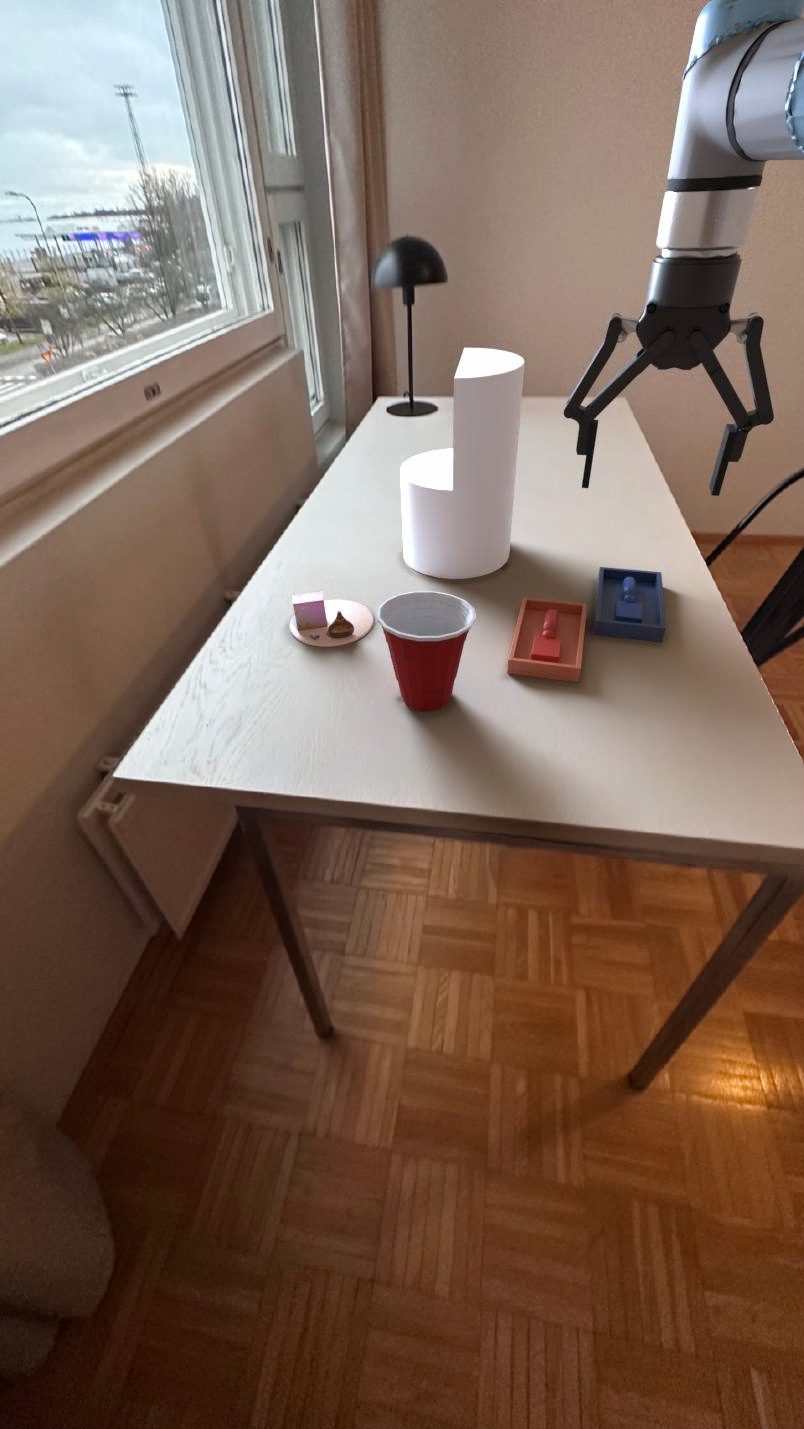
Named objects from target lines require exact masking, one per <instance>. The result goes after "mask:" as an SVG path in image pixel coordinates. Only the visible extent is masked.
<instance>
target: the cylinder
mask: <svg viewBox="0 0 804 1429" xmlns="http://www.w3.org/2000/svg"><path fill="white" fill-rule="evenodd" d="M525 363H526V362H525V360H524V358H523V357H522V356H521V355H519V354H517V353H514V352H510V351H507V350H503V349H502V350H501V349H496V348H485V347H464V348H463V350H462V354H461V357H460V360H459V362H458V366H457V368H456V371H455V374H454V377H453V412H452V413H453V414H452V415H453V419H452V423H453V424H452V448H443V449H436V450H435V449H433V450H430V451H426V452H422V453H419V454H417V455H414V456H411V457H410V458H409V459H407V460H406V461H404V462H403V463H402V465H401V466H400V472H399V475H400V497H401V498H400V499H401V500H400V502H401V516H402V517H401V521H402V522H401V524H402V525H401V526H402V527H401V528H402V548H403V550H402V552H403V559H404V561H405V563H406V564H407V565H408V566H409V567H410V568H412V570H414V571H416V572H418V573H420V574H423V575H426V576H429V577H435V578H438V579H447V580H466V579H473V578H479V577H483V576H486V575H488V574H492V573H494V572H495V571H497V570H499V569H500V568H502V567H503V566H504V565H505V564H506V563H508V560H509V557H510V551H511V537H512V526H513V514H514V513H513V512H514V502H515V501H514V499H515V498H514V497H515V487H516V486H515V485H516V474H517V463H518V462H517V461H518V451H519V436H520V425H521V411H522V401H523V400H522V399H523V387H524V386H523V385H524V374H525Z"/></svg>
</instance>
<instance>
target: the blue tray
mask: <svg viewBox="0 0 804 1429" xmlns="http://www.w3.org/2000/svg"><path fill="white" fill-rule="evenodd" d="M598 569H599V570H598V573H597V574H598V575H597V581H596V582H597V583H596V596H595V608H594V619H593V620H594V622H593V635H597V636H606V637H615V638H624V639H631V640H632V639H633V640H642V641H651V642H659V643H660V642H661V643H662V642H663V639H664V636H665V632H666V617H665V616H666V615H665V614H666V613H665V602H664V588H663V575H662V572H661V571H651V570H641V569H629V568H618V567H608V566H607V567H605V566H599V568H598ZM627 577H633V578H634V579H635V580H636V602H639V603H642V613H643V620H642V624H641V623H631V622H622V621H615V606H616V601H617V600H619V601H622V596H623V581H624V579H625V578H627Z"/></svg>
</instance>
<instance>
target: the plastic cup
mask: <svg viewBox="0 0 804 1429" xmlns="http://www.w3.org/2000/svg"><path fill="white" fill-rule="evenodd" d="M476 619H477V614H476V610H475V607H473V606H472V605H471V604H470V603H469V602H468V601H467V600H466V599H463V598H461V597H458V596H456V595H453V594H452V593H446V592H441V591H434V590H414V591H408V592H403V593H398V594H395V595H393V596H391V597H389V598H387V599H385V600H384V601H383V602H382V603H380V605H379V606H378V607H377V608H376V620H377V622H378V624H379V625H380V626H381V628H382V632H383V634H384V637H385V642H386V643H387V647H388V651H389V656H390V660H391V663H392V668H393V671H394V675H395V679H396V681H397V683H398V688H399V691H400V696H401V698H402V700H403V702H404V703H405V705H406V706H407V707H408V708H410V709H412V710H414V711H418V712H423V713H425V712H427V713H428V712H434V711H438V710H440V709H442V708H444V707H445V706H446V705H448V703H449V701H450V700H451V697H452V695H453V689H454V686H455V682H456V678H457V676H458V672H459V667H460V663H461V658H462V655H463V650H464V645H465V642H466V641H467V637H468V634H469V632H470V630H471V628H472V626H473V625H474V623H475V621H476Z"/></svg>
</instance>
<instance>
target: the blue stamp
mask: <svg viewBox="0 0 804 1429" xmlns="http://www.w3.org/2000/svg"><path fill="white" fill-rule="evenodd" d="M642 620H643V613H642V603H639V602H636V580H635V579H634V578H633V577H627V578H625V579H624V581H623V596H622V601H619V600H617V601H616V606H615V621H622V622H631V623H641V624H642Z"/></svg>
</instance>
